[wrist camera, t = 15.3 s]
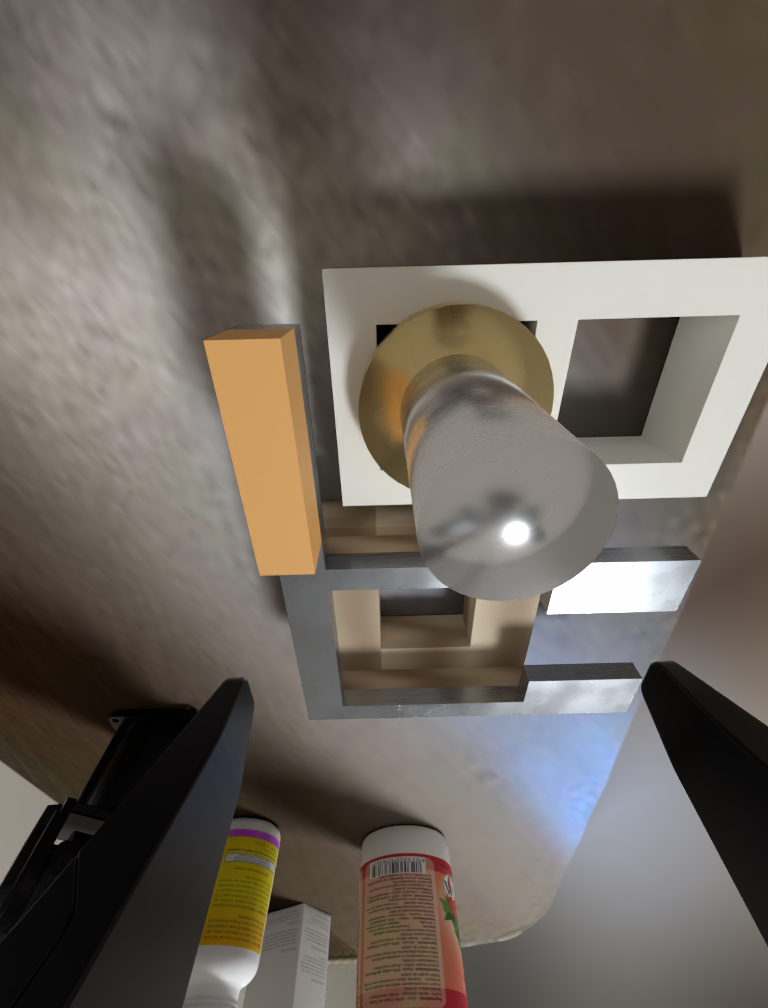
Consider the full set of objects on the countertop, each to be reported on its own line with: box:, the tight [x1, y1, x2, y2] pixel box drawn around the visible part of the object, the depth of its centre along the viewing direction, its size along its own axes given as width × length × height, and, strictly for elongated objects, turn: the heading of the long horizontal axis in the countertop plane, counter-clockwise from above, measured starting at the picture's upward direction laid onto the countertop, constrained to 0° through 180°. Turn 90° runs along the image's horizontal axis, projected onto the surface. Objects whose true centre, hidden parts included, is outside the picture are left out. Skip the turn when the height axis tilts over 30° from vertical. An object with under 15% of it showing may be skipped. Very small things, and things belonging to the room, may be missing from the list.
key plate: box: [203, 324, 701, 720], centre depth 17 cm, size 18×20×3 cm
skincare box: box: [243, 903, 331, 1008], centre depth 48 cm, size 8×7×16 cm
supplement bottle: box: [182, 817, 280, 1008], centre depth 36 cm, size 7×7×13 cm
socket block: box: [321, 501, 540, 690], centre depth 22 cm, size 12×12×4 cm
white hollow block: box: [322, 257, 768, 506], centre depth 16 cm, size 16×9×3 cm, turn 91°
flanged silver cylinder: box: [359, 302, 619, 601], centre depth 13 cm, size 7×7×11 cm
